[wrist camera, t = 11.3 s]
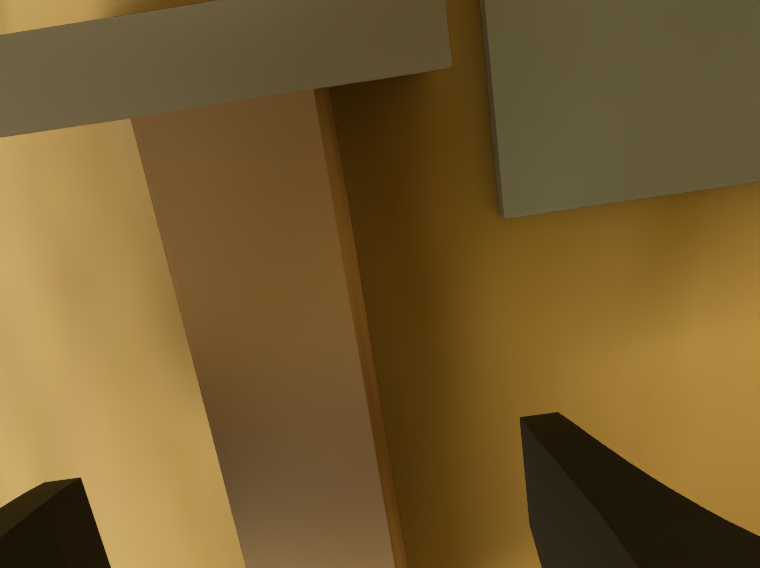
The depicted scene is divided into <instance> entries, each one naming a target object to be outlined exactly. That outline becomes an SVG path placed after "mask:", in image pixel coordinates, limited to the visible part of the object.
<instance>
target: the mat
mask: <svg viewBox="0 0 760 568" xmlns="http://www.w3.org/2000/svg"><path fill="white" fill-rule="evenodd" d="M480 10H481V21H482V32H483V43H484V54H485V65H486V75H487V86H488V97H489V108H490V119H491V130H492V140H493V151H494V162H495V173H496V184H497V195H498V205H499V214H500V215H501V216H502V217H503V218H504V219H508V218H515V217H522V216H528V215H535V214H542V213H549V212H556V211H563V210H569V209H576V208H583V207H590V206H597V205H603V204H610V203H617V202H624V201H631V200H638V199H644V198H651V197H658V196H665V195H672V194H678V193H685V192H692V191H699V190H706V189H713V188H719V187H726V186H733V185H740V184H747V183H753V182H760V0H480Z"/></svg>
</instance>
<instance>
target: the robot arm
mask: <svg viewBox="0 0 760 568" xmlns="http://www.w3.org/2000/svg"><path fill="white" fill-rule="evenodd" d="M520 425H521V436H522V447H523V458H524V469H525V480H526V491H527V501H528V512H529V523H530V528H531V531H532V535H533V538H534V542H535V545H536V549H537V552H538V556H539V559H540V562H541V566H542V568H760V536H758V535H756V534H754V533H751V532H749V531H747V530H745V529H743V528H741V527H739V526H737V525H735V524H733V523H731V522H729V521H727V520H725V519H723V518H721V517H720V516H718V515H716V514H714V513H712V512H710V511H708V510H706V509H705V508H703V507H701V506H699V505H698V504H696V503H694V502H693V501H691V500H689V499H687V498H686V497H684V496H682V495H681V494H679V493H677V492H675V491H674V490H672V489H670V488H668V487H667V486H665V485H664V484H662V483H660V482H659V481H657V480H656V479H654V478H652V477H651V476H649V475H648V474H646V473H645V472H643V471H642V470H640V469H638V468H637V467H635V466H634V465H632V464H631V463H629V462H628V461H626V460H625V459H623V458H622V457H620V456H619V455H618V454H616V453H615V452H613V451H612V450H610V449H609V448H607V447H606V446H605V445H603V444H602V443H600V442H599V441H598V440H596V439H595V438H593V437H592V436H591V435H589V434H588V433H587V432H585V431H584V430H582V429H581V428H580V427H578V426H577V425H576V424H574V423H573V422H571V421H570V420H569V419H567V418H566V417H564V416H563V415H561V414H560V413H558V412H555V413H548V414H541V415H534V416H526V417H520ZM0 568H111V567H110V564H109V561H108V558H107V555H106V552H105V549H104V546H103V543H102V540H101V537H100V534H99V531H98V528H97V525H96V522H95V519H94V516H93V513H92V510H91V507H90V504H89V501H88V498H87V495H86V492H85V489H84V486H83V483H82V480H81V478H73V479H66V480H59V481H51V482H45V483H43V484H41V485H39V486H37V487H35V488H33V489H31V490H29V491H27V492H26V493H24V494H22V495H21V496H19V497H17V498H16V499H14V500H12V501H11V502H9V503H8V504H6V505H4V506H3V507H1V508H0Z"/></svg>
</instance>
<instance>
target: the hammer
mask: <svg viewBox="0 0 760 568" xmlns="http://www.w3.org/2000/svg"><path fill="white" fill-rule="evenodd" d="M447 68H452V58H451V49H450V39H449V30H448V21H447V11H446V2H445V0H216V1H210V2H204V3H198V4H191V5H185V6H179V7H173V8H166V9H160V10H154V11H148V12H141V13H135V14H129V15H123V16H116V17H110V18H104V19H98V20H91V21H85V22H79V23H72V24H66V25H60V26H54V27H47V28H41V29H35V30H29V31H22V32H16V33H10V34H4V35H0V137H7V136H14V135H21V134H28V133H35V132H41V131H48V130H55V129H62V128H69V127H76V126H83V125H89V124H96V123H103V122H110V121H116V120H122V119H129V118H131V122H132V126H133V130H134V133H135V137H136V141H137V145H138V149H139V153H140V157H141V161H142V165H143V168H144V172H145V176H146V180H147V184H148V188H149V192H150V196H151V200H152V203H153V207H154V211H155V215H156V219H157V223H158V227H159V231H160V235H161V238H162V242H163V246H164V250H165V254H166V258H167V262H168V266H169V270H170V273H171V277H172V281H173V285H174V289H175V293H176V297H177V301H178V305H179V308H180V312H181V316H182V320H183V324H184V328H185V332H186V336H187V340H188V344H189V347H190V351H191V355H192V359H193V363H194V367H195V371H196V375H197V379H198V382H199V386H200V390H201V394H202V398H203V402H204V406H205V410H206V414H207V417H208V421H209V425H210V429H211V433H212V437H213V441H214V445H215V449H216V452H217V456H218V460H219V464H220V468H221V472H222V476H223V480H224V484H225V487H226V491H227V495H228V499H229V503H230V507H231V511H232V515H233V519H234V522H235V526H236V530H237V534H238V538H239V542H240V546H241V550H242V554H243V557H244V561H245V565H246V568H408V564H407V558H406V552H405V546H404V540H403V534H402V527H401V521H400V515H399V509H398V503H397V497H396V491H395V485H394V479H393V472H392V466H391V460H390V454H389V448H388V442H387V436H386V430H385V424H384V418H383V411H382V405H381V399H380V393H379V387H378V381H377V375H376V369H375V363H374V356H373V350H372V344H371V338H370V332H369V326H368V320H367V314H366V308H365V302H364V295H363V289H362V283H361V277H360V271H359V265H358V259H357V253H356V247H355V240H354V234H353V228H352V222H351V216H350V210H349V204H348V198H347V192H346V186H345V179H344V173H343V167H342V161H341V155H340V149H339V143H338V137H337V131H336V124H335V118H334V112H333V106H332V100H331V94H330V88H329V87H336V86H342V85H349V84H355V83H361V82H368V81H374V80H381V79H387V78H394V77H400V76H407V75H413V74H420V73H426V72H432V71H437V70H442V69H447Z"/></svg>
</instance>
